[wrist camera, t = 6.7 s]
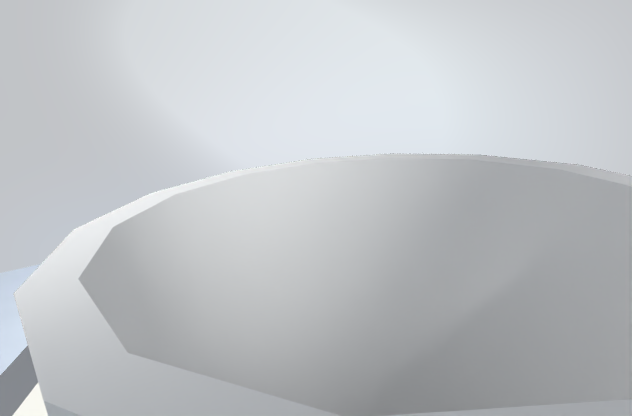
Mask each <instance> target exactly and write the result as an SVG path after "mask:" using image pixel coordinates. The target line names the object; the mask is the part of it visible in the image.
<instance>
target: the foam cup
mask: <svg viewBox="0 0 632 416" xmlns="http://www.w3.org/2000/svg"><path fill="white" fill-rule="evenodd" d="M14 297H15V301H16V304H17V308H18V312H19V315H20V319H21V322H22V326H23V329H24V333H25V337H26V340H27V344H28V347H29V351H30V354H31V358H32V362H33V365H34V369H35V372H36V376H37V379H38V383H39V386H40V390H41V394H42V397H43V401H44V404H45V407H46V410H47V414H48V416H632V176H630V175H624V174H620V173H616V172H611V171H606V170H601V169H597V168H592V167H587V166H583V165H577V164H567V163H557V162H547V161H536V160H527V159H517V158H507V157H497V156H487V155H459V154H458V155H457V154H378V155H363V156H349V157H348V156H347V157H334V158H333V157H332V158H317V159H307V160H301V161H294V162H288V163H281V164H275V165H269V166H262V167H256V168H249V169H242V170H237V171H230V172H227V173H224V174H220V175H216V176H212V177H209V178H205V179H201V180H197V181H193V182H190V183H186V184H182V185H179V186H175V187H171V188H167V189H164V190H160V191H156V192H153V193H150V194H148V195H146V196H144V197H142V198H140V199H138V200H135V201H133V202H132V203H129V204H127V205H125V206H123V207H121V208H118V209H116V210H114V211H112V212H110V213H108V214H106V215H104V216H101V217H99V218H97V219H95V220H93V221H91V222H89V223H87V224H84V225H82V226H80V227H78V228H76V229H74V230H73V231H72V232H71V233H70V234H69V235H68V236H67V237H66V238H65V239H64V240H63V241H62V242H61V243H60V245H59V246H58V247H57V248H56V249H55V250H54V251H53V252H52V253H51V254H50V255H49V256H48V257H47V258H46V260H44V262H43V263H42V264H41V265H40V266H39V267H38V268H37V269H36V270H35V271H34V272H33V273H32V274H31V275H30V276H29V278H28V279H27V280H26V281H25V282H24V283H23V284H22V285H21V286H20V287H19V288H18V289H17V290H16V291H15V292H14Z"/></svg>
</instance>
